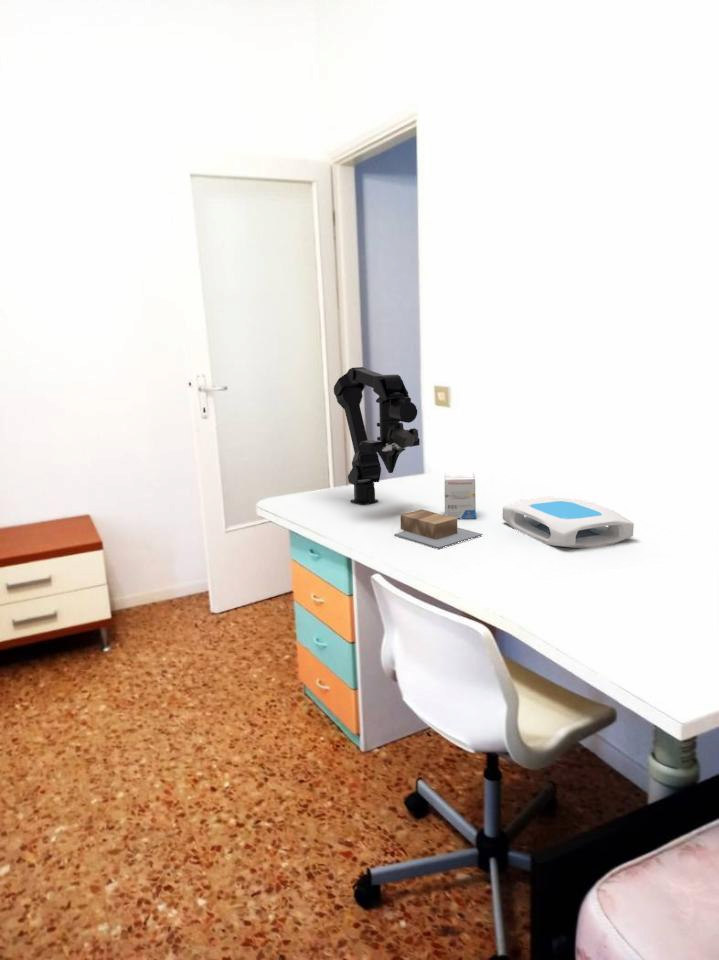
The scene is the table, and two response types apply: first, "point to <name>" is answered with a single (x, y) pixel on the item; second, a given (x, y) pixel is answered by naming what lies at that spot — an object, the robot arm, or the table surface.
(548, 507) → the white blue plastic platform
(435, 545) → the mat
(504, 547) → the table surface
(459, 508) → the ink box
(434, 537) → the walnut domino block
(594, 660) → the table surface
